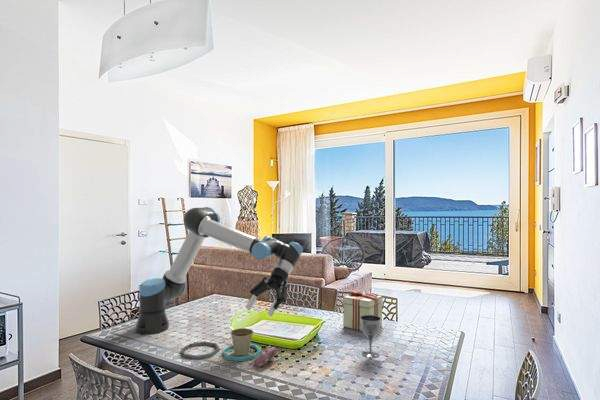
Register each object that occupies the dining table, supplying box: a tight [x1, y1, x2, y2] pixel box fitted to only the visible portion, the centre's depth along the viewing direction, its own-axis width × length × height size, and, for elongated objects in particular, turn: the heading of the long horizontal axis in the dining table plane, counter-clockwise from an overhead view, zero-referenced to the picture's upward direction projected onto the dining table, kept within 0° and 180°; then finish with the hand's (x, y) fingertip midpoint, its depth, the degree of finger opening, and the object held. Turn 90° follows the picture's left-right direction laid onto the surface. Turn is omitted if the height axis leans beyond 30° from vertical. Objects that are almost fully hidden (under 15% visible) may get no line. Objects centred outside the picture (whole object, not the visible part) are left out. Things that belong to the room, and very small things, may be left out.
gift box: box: [342, 289, 384, 332], centre depth 187 cm, size 17×18×17 cm
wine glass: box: [361, 315, 381, 359], centre depth 151 cm, size 8×8×15 cm
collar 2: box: [221, 343, 262, 362], centre depth 153 cm, size 15×15×1 cm
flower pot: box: [230, 327, 254, 357], centre depth 153 cm, size 9×9×9 cm
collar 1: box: [180, 340, 221, 360], centre depth 154 cm, size 15×15×1 cm
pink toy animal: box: [252, 346, 279, 367], centre depth 144 cm, size 10×5×7 cm, turn 150°
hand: (258, 311), depth 159 cm, fingers open, 13 cm apart
